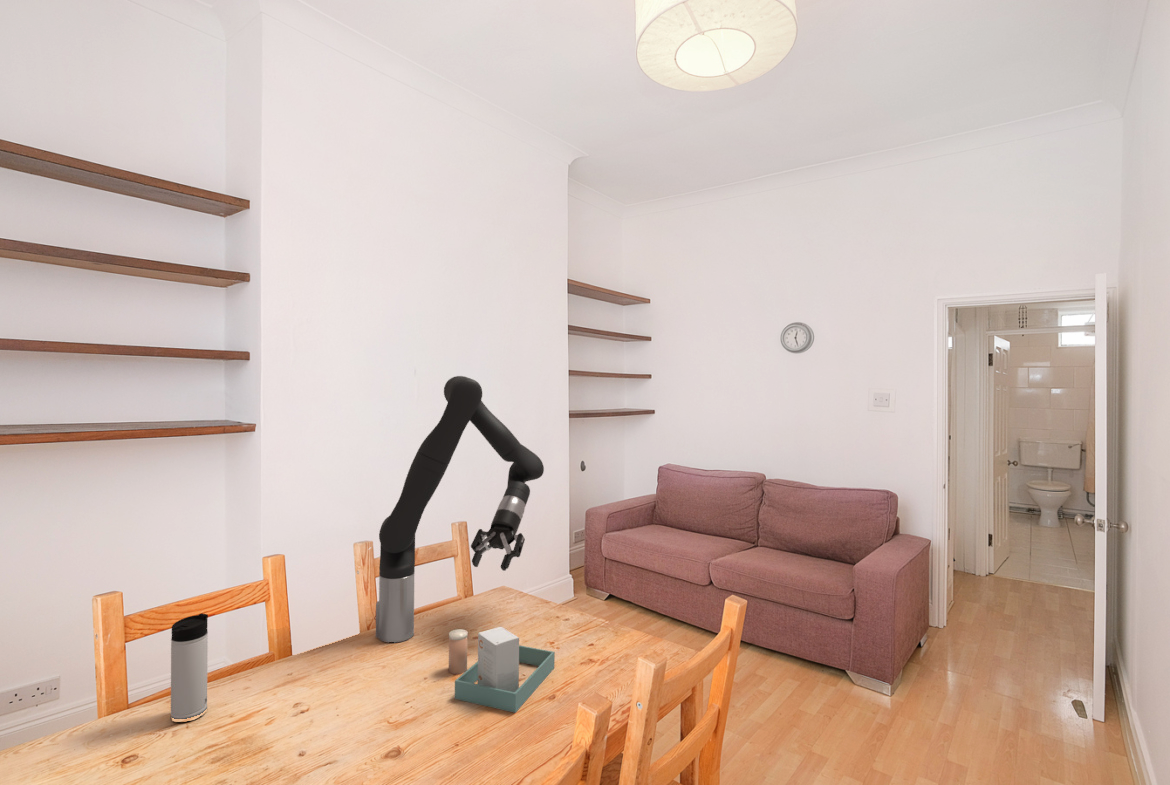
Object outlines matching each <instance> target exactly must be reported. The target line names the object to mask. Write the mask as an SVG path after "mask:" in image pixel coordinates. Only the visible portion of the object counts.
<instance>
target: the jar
mask: <svg viewBox="0 0 1170 785" xmlns="http://www.w3.org/2000/svg"><path fill="white" fill-rule="evenodd" d="M467 670H468V630H466V629H462V628H461V629H460V628H459V629H453V630H451V631H450V632H448V673H450V674H451V675H460V674H461V675H462V674H463V673H465V672H466V671H467Z"/></svg>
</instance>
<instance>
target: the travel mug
mask: <svg viewBox="0 0 1170 785" xmlns="http://www.w3.org/2000/svg"><path fill="white" fill-rule="evenodd" d="M208 618H209V615H208V614H207V613H203V612H202V613H199V614H196V615H190V616H187V617H184V618H182V619H179V620H178V621H175V623H173V624H172V625H171V638H170V718H171V717H172V718H174V719H187V718H191V717H194V716H197V715H200V714H201V713H203V712H204V711H205V710H206V709H207V710H208V652H209V650H208V649H209V647H208V643H209V642H208V639H209V638H208V637H209V635H208V633H209V632H208Z"/></svg>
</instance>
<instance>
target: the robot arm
mask: <svg viewBox="0 0 1170 785" xmlns="http://www.w3.org/2000/svg"><path fill="white" fill-rule="evenodd" d="M443 395H444V398H445V401H446V402H447V404H446V406H445V408H444V411H443V413H442V416H441V417H440V420H439V421H438V423H437V424H436V425H435V427H434V428H433V429H432V430H431V431H430V433H429V434H428V435H427V436H426V437H425V438H424V440H423V441H422V443H421V445H420V446H419V448H418V449H417V452H416V453H415V455H414V458H413V460H412V462H411V465H410V467H409V469H408V471H407V474H406V477H405V480H404V484H403V487H402V490H401V494H400V496H399V498H398V501H397V503H396V504H395V506H394V508H393V509H392V511H391V513H390V515H389V516H388V517H386V518H385V519H384V520H383V521H382V523H381V526H380V529H379V533H378V535H379V536H378V537H379V538H378V539H379V544H380V549H379V550H380V554H379V555H380V556H379V567H378V568H379V571H378V572H379V573H378V574H379V577H378V580H379V582H378V585H379V587H378V590H379V591H378V592H379V593H378V597H379V598H378V601H377V602H376V603H375V638H378V639H379V640H380V641H381V642H383V641H385V642H384V643H389V642H394V643H400V642H404V641H408V640H410V639H411V638H412V637H413V636H414V634H415V633H414V632H415V572H416V571H415V569H416V568H415V566H416V562H415V561H416V533H417V530H418V528H419V527H418V526H419V524H420V522H421V519H422V515H423V514H424V511H425V509H426V507H427V505H428V504H429V502H430V500H431V499H432V497H433V496H434V493H435V491H436V490H437V489H438V486H439V484H440V483H441V481H442V478H443V477H444V475H445V473H446V471H447V469H448V467H449V464H450V462H451V461H452V458H453V455H454V454H455V451H456V450H457V447H458V444H459V442H460V440H461V437H462V435H463V433H464V431H465V429H466V428H467V425H468V424H469V422H471V424H472V425H473V426H474V427H475V428H476V429H477V430H478V431H479V433H480V434H481V435H482V436H483V437H484V439H485V440H486V441H487V443H488V444H489V445H490V446H491V448H492V449H493V450H494V452H496V453H497V454H498V456H500V458H501V459H502V460H503V461H505V462H507V463H508V462H509V463H512V464H511V465H510V467H509V470H508V475H507V486H506V489H505V492H504V495H503V496H502V498H501V500H500V502H499V504H498V507H497V509H496V512H495V514H494V516H493V519H492V521H491V524H490V528H489V530H488V531H484V530H483V529H481V528H479V529H478V530H477V533H476V534H475V535H474V538H473V541H472V543H471V544H470V548H471V550H473V552H474V554H473V555H472V556H473V557H472V558H471V563H472V565H473V566H474V568H478V566H479V564H480V562H481V559H482V556H483V554H484V553H486V552H487V551H490V550H491V549H495V550H496V549H499V550H505V554H504V556H503V559H502V561H501V564H500V569H501V570H502V571H503V572H504V571H507V569H509V567H510V565H511V562H512V559H513V558H520V556H521V553H522V550H523V547H524V543H525V540H526V539H525V536H524V535H523V533H522V532H520V533H518V534H517V532H518V531H519V528H520V524H521V522H522V519H523V518H524V513H525V509H526V505H527V503H528V502H529V501H528V500H529V498H530V495H531V489H530V486H529V485H528V484H527V483H526V482H531V481H535V480H538V479H539V478H541V477H542V476H543V474H544V472H545V468H544V464H543V461H542V459H541V458H540V457H539V456H538V455H537V454H536V453H534V452H533V451H532V450H531V449H529V448H527V446H524V445H523V444H522V443H520V441H519V440H518V438H517V437H516V436H515V435H514V434H513V433H512V431H511V430H510V429H509V428H508V427H507V426H506V425H505V424H504V423H503V422H502V421H501V420H500V419H498V417H497V416H495V415H494V414H493V413H492V412H491V411H490V409H489V408H488V407H487V406H486V404H484V402H483V401H482V398H483V389H482V386H481V384H480V383H479V382H478V381H477V380H475V379H473V378H470V377H467V376H463V375H456V376H453V377H450V378H449V379H448V380H447V381H446V383H445V384H444V386H443ZM514 541H515V544H514V547H513V549H512V547H511V544H512V543H513V542H514Z"/></svg>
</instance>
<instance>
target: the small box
mask: <svg viewBox="0 0 1170 785" xmlns="http://www.w3.org/2000/svg"><path fill="white" fill-rule="evenodd" d="M519 645H520V637H519V636H517V635H516V634H514V633H512V632H511V631H509V630H508V629H507V628H504V627H503V626H498V627H494V628H491V629H487V630H484V631H480V632H478V634H477V661H478V680H477V681H476V682H477V683H476V684H478V685H483V686H487V687H492V688H497V689H501V690H506V691H510V692H516V691H517V689H518V688H519V687H520V675H519V674H520V662H519Z"/></svg>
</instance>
